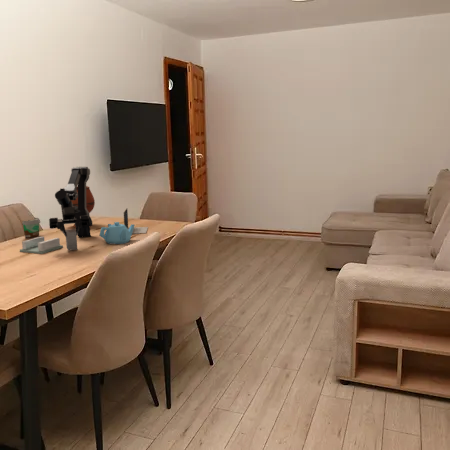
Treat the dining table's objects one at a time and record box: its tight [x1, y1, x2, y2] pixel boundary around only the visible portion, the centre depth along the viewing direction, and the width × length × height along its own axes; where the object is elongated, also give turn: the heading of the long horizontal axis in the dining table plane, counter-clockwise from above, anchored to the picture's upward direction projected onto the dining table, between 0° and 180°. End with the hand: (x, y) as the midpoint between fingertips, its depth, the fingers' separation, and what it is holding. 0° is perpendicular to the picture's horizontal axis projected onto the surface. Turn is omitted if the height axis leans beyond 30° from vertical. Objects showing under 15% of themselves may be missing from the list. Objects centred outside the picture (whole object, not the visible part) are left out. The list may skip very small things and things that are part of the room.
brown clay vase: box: [71, 185, 96, 228], centre depth 300 cm, size 19×19×25 cm
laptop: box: [123, 208, 149, 235], centre depth 285 cm, size 18×12×13 cm
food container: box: [22, 217, 41, 239], centre depth 271 cm, size 12×6×10 cm, turn 168°
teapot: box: [99, 221, 135, 245], centre depth 256 cm, size 15×15×11 cm
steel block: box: [65, 228, 78, 251], centre depth 235 cm, size 4×7×9 cm, turn 23°
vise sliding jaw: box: [21, 236, 45, 250], centre depth 242 cm, size 13×4×4 cm, turn 158°
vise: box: [19, 237, 64, 255], centre depth 240 cm, size 15×14×5 cm
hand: (71, 235), depth 234 cm, fingers closed on steel block, 4 cm apart
